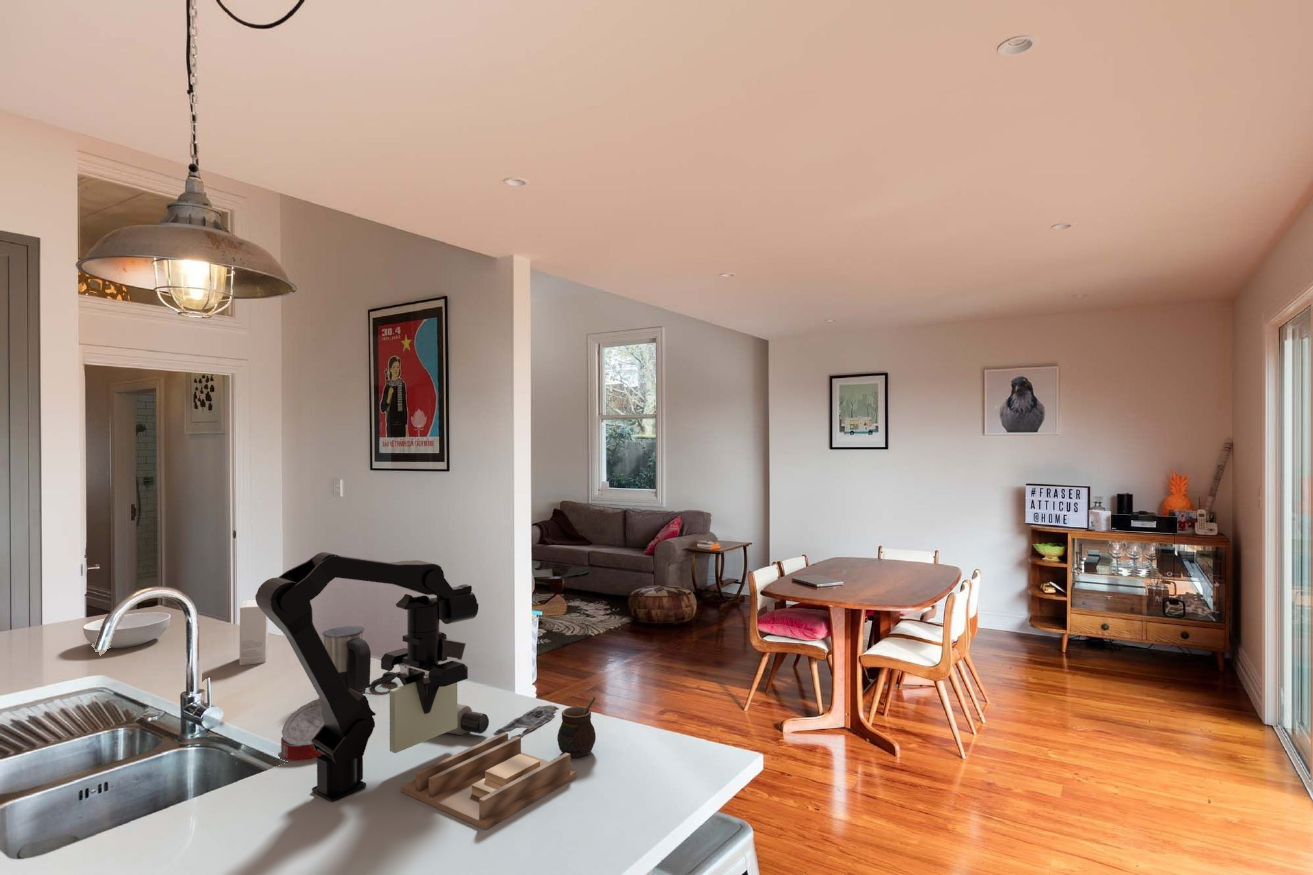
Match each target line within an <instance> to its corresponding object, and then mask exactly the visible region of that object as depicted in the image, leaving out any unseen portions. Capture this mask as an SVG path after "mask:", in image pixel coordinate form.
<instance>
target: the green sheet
mask: <svg viewBox="0 0 1313 875" xmlns="http://www.w3.org/2000/svg"><path fill="white" fill-rule="evenodd" d="M457 704H458V682H457V683H454V684H451V685H448V686H445V687H440V686H439V689H438V691H437V693H436V696H435V699H434V702H433V705H432V708H431V711H430V713H427V714H424V712H423V709H422V705H421V702H420V698H419V694H418V690H417V686H416V682H413V683H410V684H407V685H401V686H398V687H394V688H392V689H389V752H391V753H393V754H397V753H399V752H402V751H404V750H407V749H409V748H412V747H414V746H417V745H419V744H421V743H423V742H426V741H428V740H430V739H433V738H436V737H439V736H441V735H443V734H446V733H448V731H451V730H453V729H456V728H457Z"/></svg>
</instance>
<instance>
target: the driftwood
mask: <svg viewBox="0 0 1313 875" xmlns="http://www.w3.org/2000/svg"><path fill="white" fill-rule="evenodd" d="M559 710H560V708H559V707H557V706H556V705H543V706H542V705H540V706H539V705H538V706H536V707H534V708H533V709H530V710H529V711H526V712H525V713H524V714H523V715H522V716H520V717H515V718H514V719H513V720H512V721H510V722H509V723H507V724H506V725H504V726H503V727H500V728H498V729H496V730H495V732H493V733H492V735H494V737H495V736H497V735H500V734H502V733H504V732H505V733H508V732H509V733H510V732H512V731H514V730H516V729H524V730H523V731H522V732H521V734H516V735H512V736H510V738H508V740H511V739H513V738H515V737H520V738H522V737H523V736H525V735H527V734H528V733H530V732H531V731H533V730H535V729H537V728H539V727H541V726H543V725H544V724H545V723H547V722H549V721H550V720H552V719H555V718H556V715H555V714H556V713H557V711H559Z"/></svg>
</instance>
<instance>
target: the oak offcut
mask: <svg viewBox="0 0 1313 875" xmlns="http://www.w3.org/2000/svg"><path fill="white" fill-rule="evenodd" d="M538 767H540V761H539V760H536V759H533V758H530V757H528V756H525V755H522V754H518V755H516V756H514V757H512V758H510V759H508V760H506V761H504V762H502V763H500V764H498V765H496V766H494V767H492V768H490V769H488V770H486V771H485V780H487V781H490V782H492V783H495V784H497V785H500V786H504V785H506V784H508V783H510V782H512V781H514V780H516V779H518V778H519V777H521V776H523V775H525V774H527V773H529V772H531V771H533V770H534V769H536V768H538Z"/></svg>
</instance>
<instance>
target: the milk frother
mask: <svg viewBox="0 0 1313 875" xmlns="http://www.w3.org/2000/svg"><path fill="white" fill-rule="evenodd" d="M365 629H366V628H365V627H363V626H358V625H346V626H338V627H334V628H329V629H327V630H324V631H323V632H322V634H321V635H322V636H323V644H324V646H325V648H326V650H327V652H328V654H329V656H330V657H331V659H332V661H333V663H334V665H335V667H336V669H337V671H338V673H339V674H340V676H341V678H342V680H343V682H344V684H345V686H346V688H347V690H349V689H350V688H351V689H353V690H355V691H357V692H359V693H361V694H364V693H365V692H366V690H367V689H369V688H372V687H375V686H377V685H379V684H382V683H385V684H389V683H392V681H393V680H395V679H396V678H397V675H398V674H400V671H397V672H394V671H386V672H384V673H382V676H381V677H378V678H376V679H374V680H373V681H371V662H372V660H371V658H372V653H371V652H372V651H371V648H370V646H369V644H368V642H367V641H366V640H364V632H365Z"/></svg>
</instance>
